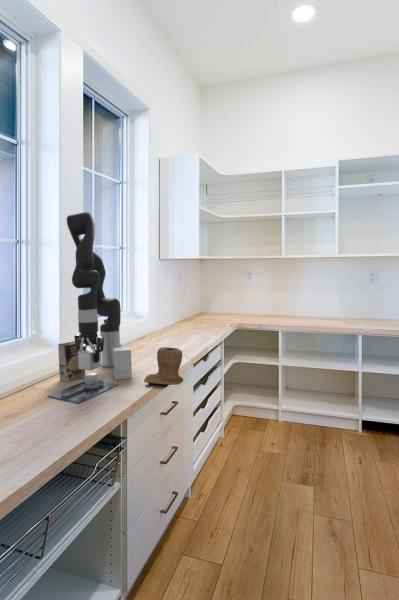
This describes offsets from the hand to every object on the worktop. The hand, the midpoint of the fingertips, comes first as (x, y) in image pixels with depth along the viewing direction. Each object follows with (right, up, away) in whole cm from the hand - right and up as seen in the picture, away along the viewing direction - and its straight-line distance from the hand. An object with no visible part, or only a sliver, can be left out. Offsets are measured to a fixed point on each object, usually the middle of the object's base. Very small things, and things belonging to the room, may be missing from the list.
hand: (90, 361), depth 149 cm
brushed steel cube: (0, -3, 0) cm, 3 cm away
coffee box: (-11, -10, +13) cm, 20 cm away
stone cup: (+30, -10, +6) cm, 32 cm away
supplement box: (+10, -10, +15) cm, 21 cm away
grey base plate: (-1, -11, -2) cm, 12 cm away
